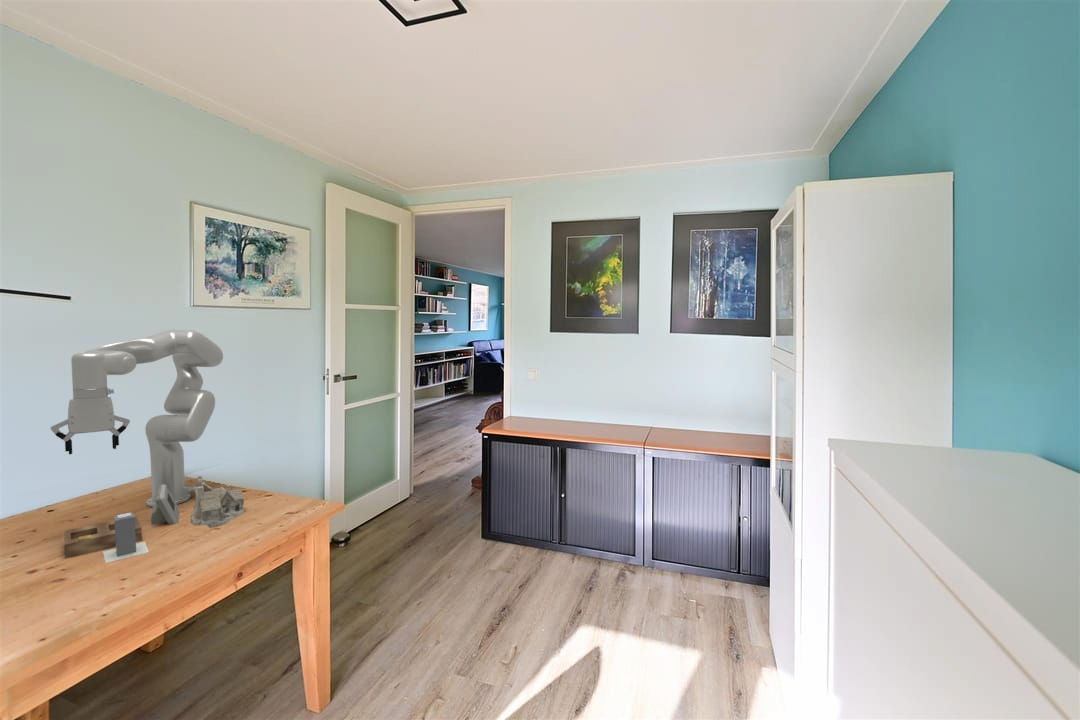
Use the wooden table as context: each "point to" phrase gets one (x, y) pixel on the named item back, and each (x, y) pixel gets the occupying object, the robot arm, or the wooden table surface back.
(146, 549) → the tray
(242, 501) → the ceramic cottage
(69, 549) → the socket block
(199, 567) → the wooden table surface
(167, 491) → the digital clock
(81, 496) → the wooden table surface
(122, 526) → the plug
